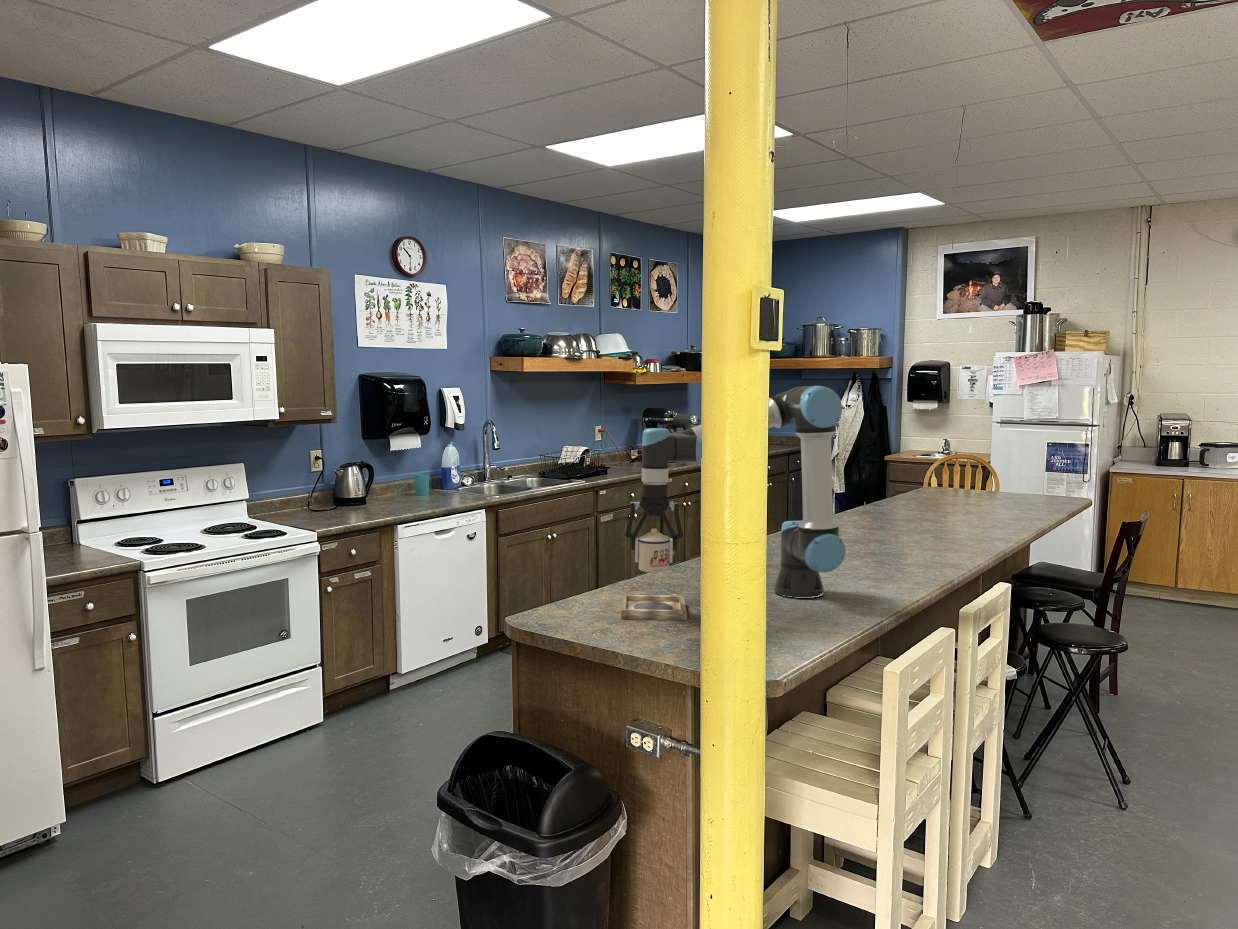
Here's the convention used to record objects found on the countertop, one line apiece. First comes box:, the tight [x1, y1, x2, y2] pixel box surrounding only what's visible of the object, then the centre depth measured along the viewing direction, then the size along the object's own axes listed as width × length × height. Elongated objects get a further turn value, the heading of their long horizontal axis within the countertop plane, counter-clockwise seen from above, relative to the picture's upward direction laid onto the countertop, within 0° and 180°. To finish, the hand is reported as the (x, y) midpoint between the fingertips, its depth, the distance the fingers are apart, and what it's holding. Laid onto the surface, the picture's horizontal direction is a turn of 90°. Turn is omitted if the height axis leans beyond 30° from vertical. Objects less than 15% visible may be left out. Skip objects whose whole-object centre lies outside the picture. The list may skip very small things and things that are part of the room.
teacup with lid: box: [637, 528, 675, 574], centre depth 234 cm, size 12×9×12 cm
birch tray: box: [620, 594, 688, 621], centre depth 236 cm, size 18×17×2 cm
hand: (653, 561), depth 235 cm, fingers closed on teacup with lid, 9 cm apart
